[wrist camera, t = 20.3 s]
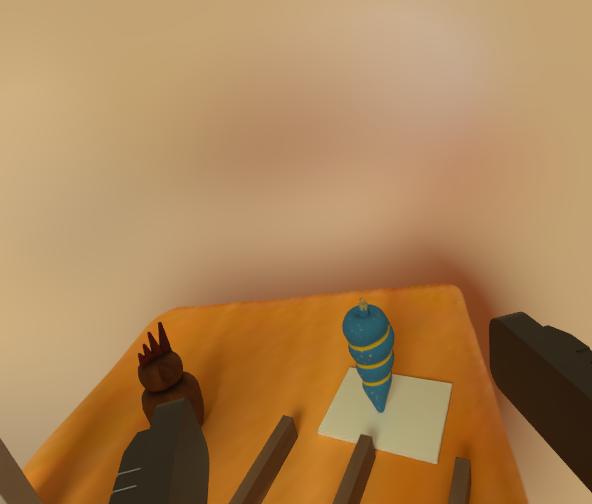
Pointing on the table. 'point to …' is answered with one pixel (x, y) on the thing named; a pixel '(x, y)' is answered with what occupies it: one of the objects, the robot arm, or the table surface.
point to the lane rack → (354, 479)
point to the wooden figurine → (166, 378)
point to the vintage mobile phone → (14, 481)
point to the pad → (392, 416)
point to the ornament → (371, 350)
